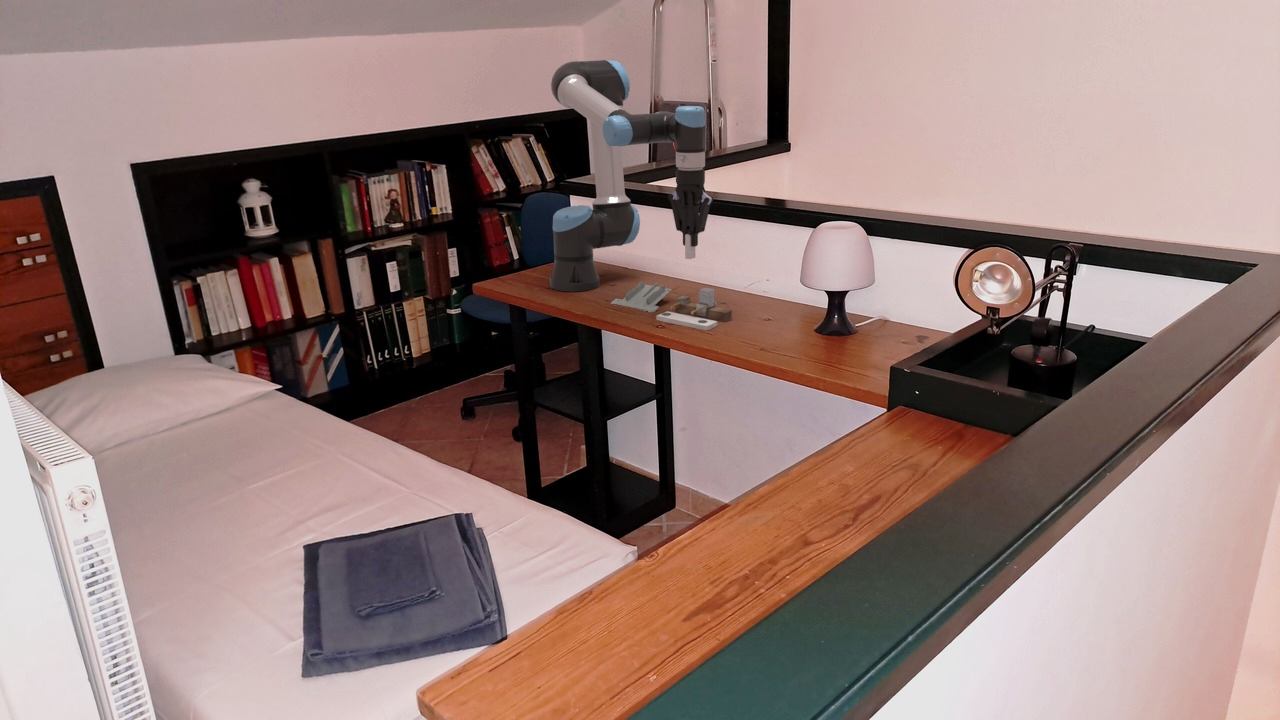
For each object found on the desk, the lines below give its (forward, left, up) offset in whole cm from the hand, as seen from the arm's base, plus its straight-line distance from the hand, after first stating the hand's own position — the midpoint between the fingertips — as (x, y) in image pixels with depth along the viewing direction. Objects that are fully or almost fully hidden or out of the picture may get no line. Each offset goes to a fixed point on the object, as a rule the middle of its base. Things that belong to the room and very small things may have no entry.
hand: (690, 258), depth 243 cm
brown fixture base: (+4, -2, -15) cm, 16 cm away
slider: (+5, -2, -15) cm, 16 cm away
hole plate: (+4, -8, -15) cm, 18 cm away
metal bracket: (-16, +1, -16) cm, 23 cm away
